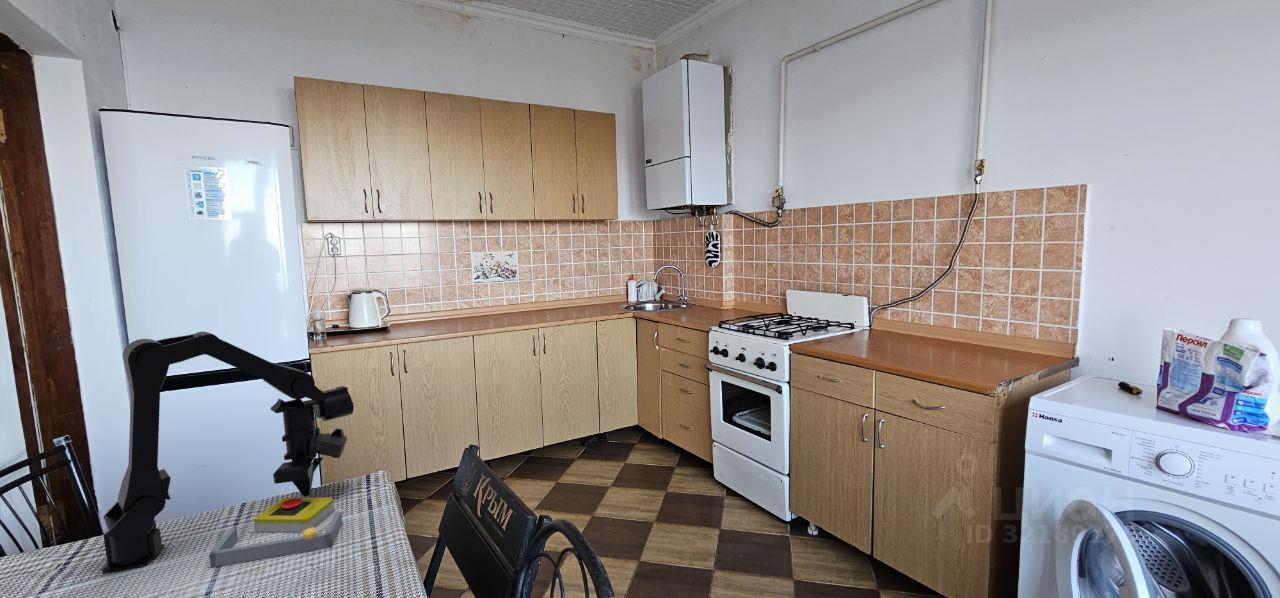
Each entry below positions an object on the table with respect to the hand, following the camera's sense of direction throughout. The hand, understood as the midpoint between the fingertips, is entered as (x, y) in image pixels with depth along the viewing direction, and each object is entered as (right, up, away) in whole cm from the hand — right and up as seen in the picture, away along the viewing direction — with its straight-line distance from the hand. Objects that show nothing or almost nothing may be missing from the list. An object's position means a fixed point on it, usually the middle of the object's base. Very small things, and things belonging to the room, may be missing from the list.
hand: (307, 495), depth 120 cm
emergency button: (+3, -3, -8) cm, 9 cm away
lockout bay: (+5, -3, -16) cm, 18 cm away
